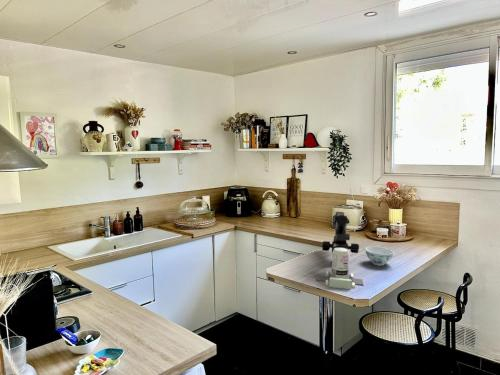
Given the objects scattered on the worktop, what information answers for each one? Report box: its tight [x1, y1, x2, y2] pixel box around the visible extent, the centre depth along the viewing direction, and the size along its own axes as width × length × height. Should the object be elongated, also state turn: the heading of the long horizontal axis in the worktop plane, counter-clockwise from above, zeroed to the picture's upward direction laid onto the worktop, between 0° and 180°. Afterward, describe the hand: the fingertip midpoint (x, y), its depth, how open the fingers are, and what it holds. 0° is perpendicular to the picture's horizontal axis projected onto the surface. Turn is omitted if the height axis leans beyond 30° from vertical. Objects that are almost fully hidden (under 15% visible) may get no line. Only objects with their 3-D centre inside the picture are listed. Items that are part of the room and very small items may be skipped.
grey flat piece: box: [316, 270, 364, 290], centre depth 183 cm, size 18×22×4 cm
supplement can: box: [330, 248, 350, 279], centre depth 186 cm, size 8×8×15 cm
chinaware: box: [365, 246, 394, 266], centre depth 210 cm, size 15×15×8 cm
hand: (340, 261), depth 192 cm, fingers closed
